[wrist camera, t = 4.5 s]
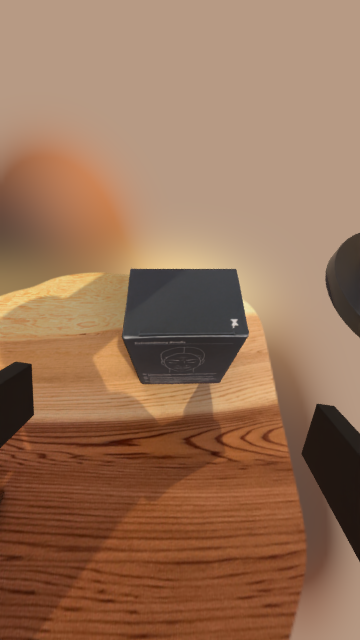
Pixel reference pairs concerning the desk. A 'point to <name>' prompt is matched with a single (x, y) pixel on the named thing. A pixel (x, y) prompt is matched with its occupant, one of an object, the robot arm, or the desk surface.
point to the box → (183, 324)
